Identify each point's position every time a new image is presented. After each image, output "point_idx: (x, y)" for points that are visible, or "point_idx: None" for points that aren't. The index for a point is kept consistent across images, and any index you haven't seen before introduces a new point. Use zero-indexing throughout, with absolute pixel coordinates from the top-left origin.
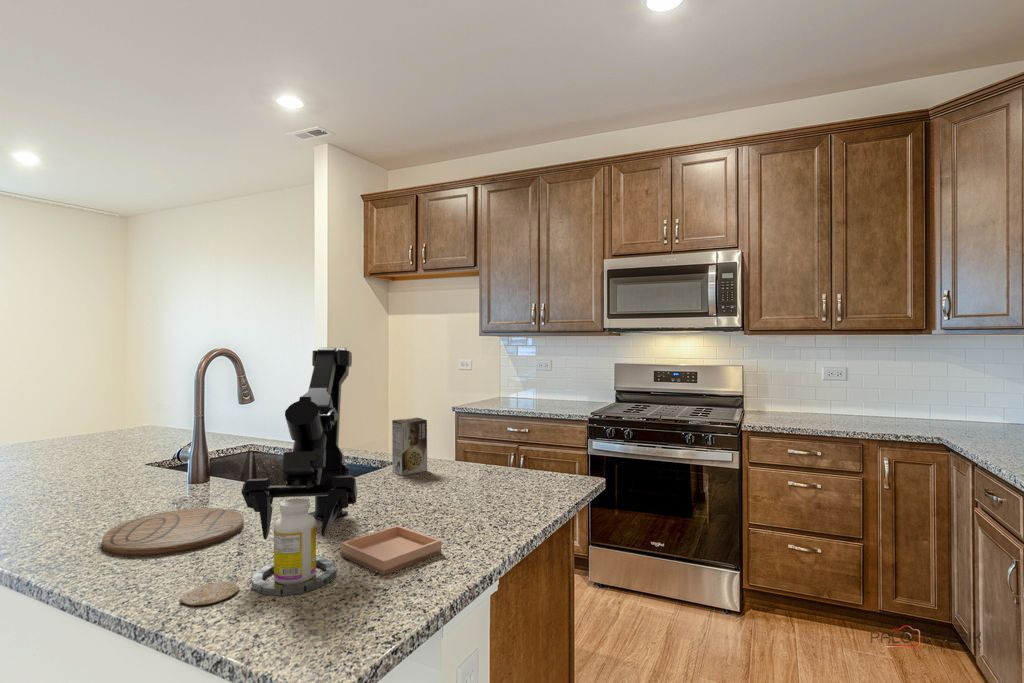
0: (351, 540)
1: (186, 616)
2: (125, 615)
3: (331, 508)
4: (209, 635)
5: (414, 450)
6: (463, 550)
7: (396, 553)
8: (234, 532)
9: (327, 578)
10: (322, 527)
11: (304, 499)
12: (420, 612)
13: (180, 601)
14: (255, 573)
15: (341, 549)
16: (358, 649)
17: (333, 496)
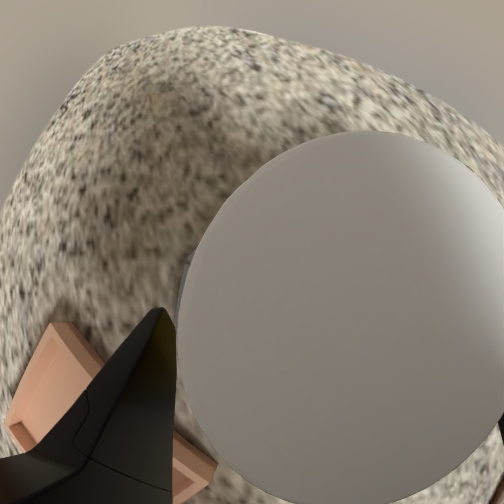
0: (183, 494)
1: (422, 122)
2: (496, 142)
3: (71, 419)
4: (336, 68)
5: None
6: (2, 418)
7: None
8: (498, 494)
9: (182, 274)
10: (151, 327)
11: (307, 481)
12: (30, 171)
13: (468, 167)
14: None
15: (211, 471)
16: (105, 75)
17: (18, 474)
